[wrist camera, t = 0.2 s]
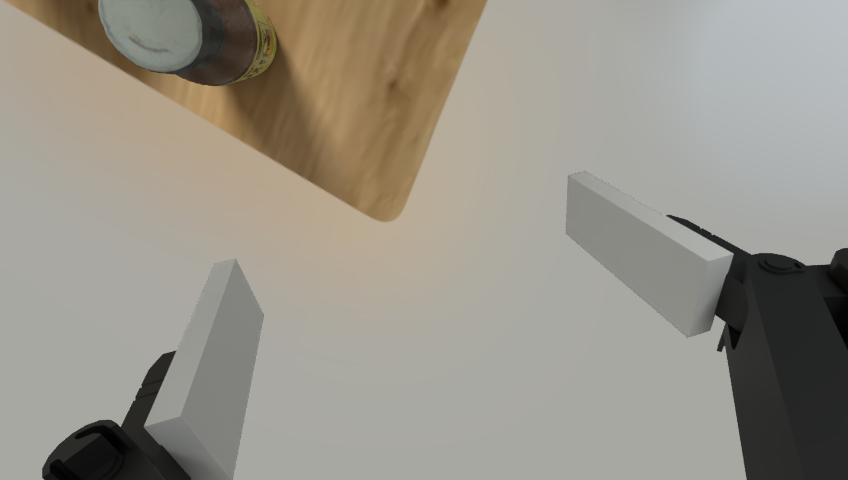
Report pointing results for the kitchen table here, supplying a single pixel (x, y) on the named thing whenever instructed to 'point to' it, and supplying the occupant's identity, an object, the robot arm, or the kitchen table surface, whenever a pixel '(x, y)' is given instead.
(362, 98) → the kitchen table surface
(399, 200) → the kitchen table surface
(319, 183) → the kitchen table surface
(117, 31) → the sauce bottle
